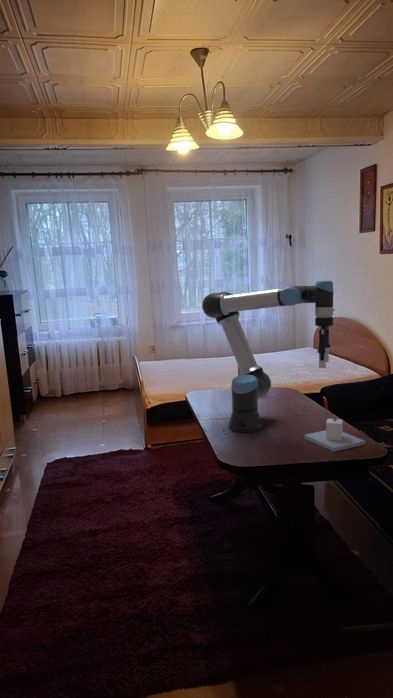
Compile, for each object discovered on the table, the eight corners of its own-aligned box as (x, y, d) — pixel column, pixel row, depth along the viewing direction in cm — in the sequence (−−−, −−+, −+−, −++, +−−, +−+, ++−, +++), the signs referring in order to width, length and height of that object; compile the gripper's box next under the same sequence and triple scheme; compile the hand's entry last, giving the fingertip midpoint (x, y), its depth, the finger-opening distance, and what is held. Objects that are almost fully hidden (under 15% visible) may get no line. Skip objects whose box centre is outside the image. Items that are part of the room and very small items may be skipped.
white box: (341, 440, 185) (341, 422, 183) (326, 439, 187) (326, 421, 186) (342, 435, 190) (342, 418, 189) (327, 434, 192) (327, 417, 191)
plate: (333, 451, 177) (333, 434, 176) (304, 438, 193) (304, 422, 192) (365, 444, 184) (365, 427, 183) (334, 431, 200) (334, 416, 199)
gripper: (330, 319, 186) (330, 370, 189) (335, 314, 209) (335, 360, 212) (311, 319, 188) (311, 370, 192) (318, 314, 211) (318, 359, 215)
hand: (323, 364), depth 202 cm, fingers open, 13 cm apart
